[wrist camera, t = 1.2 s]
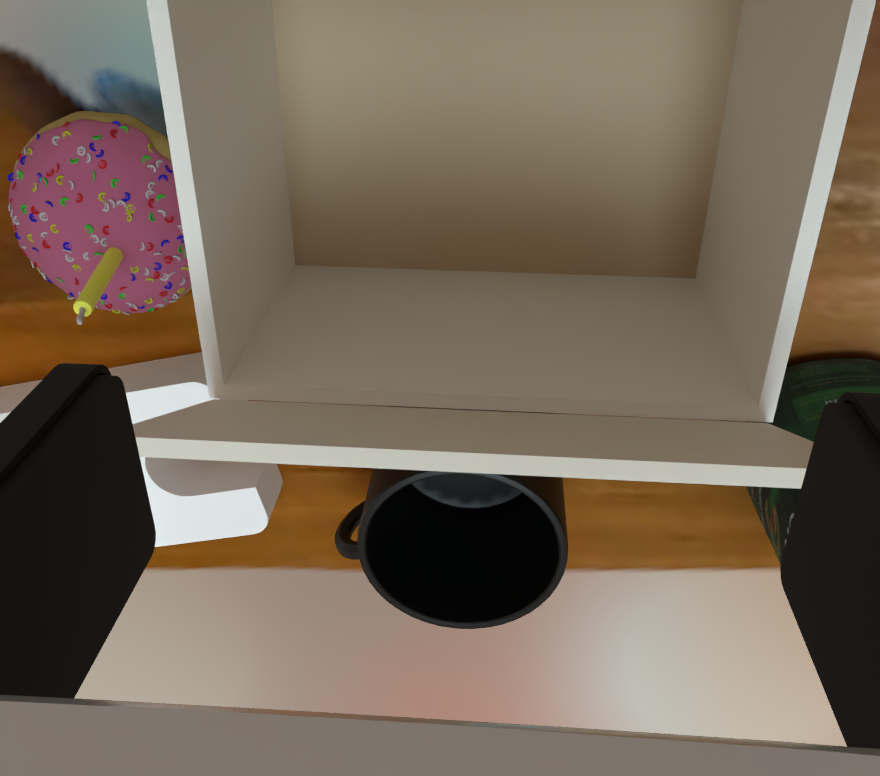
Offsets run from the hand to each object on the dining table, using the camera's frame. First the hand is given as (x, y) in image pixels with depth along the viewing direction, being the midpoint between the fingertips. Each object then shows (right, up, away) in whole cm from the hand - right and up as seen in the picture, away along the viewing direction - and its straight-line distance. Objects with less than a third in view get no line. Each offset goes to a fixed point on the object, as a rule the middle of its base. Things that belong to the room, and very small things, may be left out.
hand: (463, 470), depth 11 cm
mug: (0, -2, +34) cm, 34 cm away
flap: (+1, 0, +14) cm, 14 cm away
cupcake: (-14, +11, +28) cm, 33 cm away
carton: (+2, +14, +24) cm, 28 cm away
